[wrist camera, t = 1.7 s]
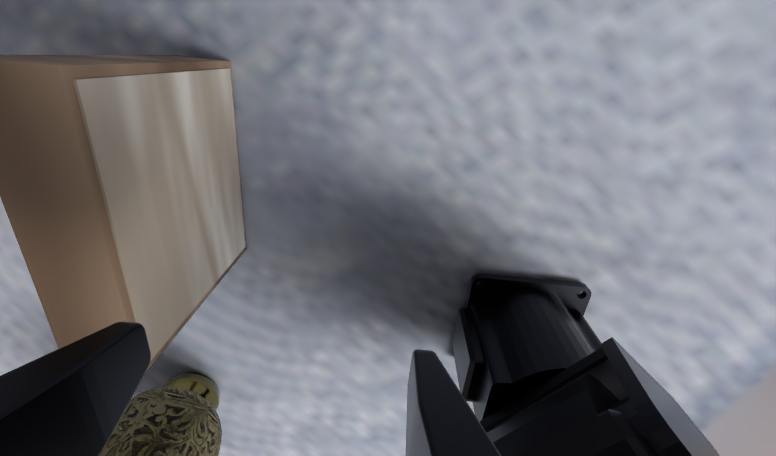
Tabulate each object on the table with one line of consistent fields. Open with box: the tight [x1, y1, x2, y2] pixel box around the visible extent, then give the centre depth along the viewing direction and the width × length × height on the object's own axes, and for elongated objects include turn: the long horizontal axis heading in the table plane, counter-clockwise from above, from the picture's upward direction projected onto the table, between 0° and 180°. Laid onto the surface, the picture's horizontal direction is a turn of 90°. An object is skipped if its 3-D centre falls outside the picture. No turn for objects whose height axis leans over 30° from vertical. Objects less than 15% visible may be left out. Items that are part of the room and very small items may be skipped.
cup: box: [99, 373, 222, 456], centre depth 21 cm, size 8×7×8 cm
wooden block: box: [0, 55, 246, 373], centre depth 14 cm, size 3×10×9 cm, turn 175°
